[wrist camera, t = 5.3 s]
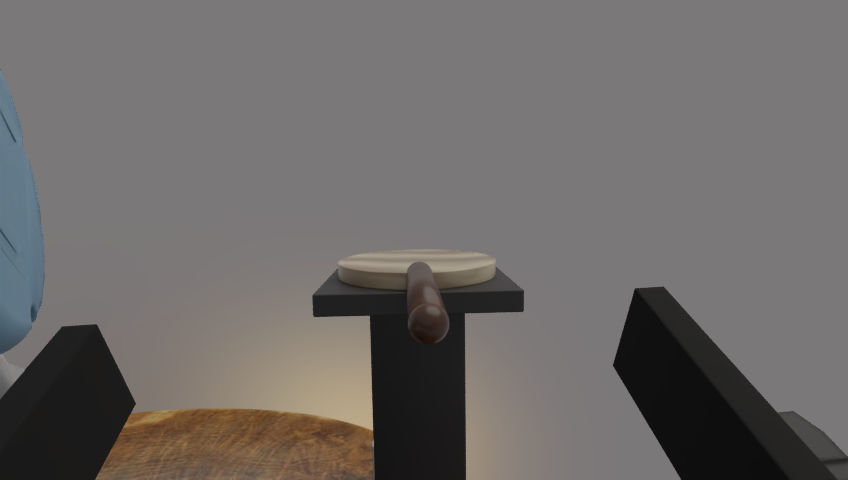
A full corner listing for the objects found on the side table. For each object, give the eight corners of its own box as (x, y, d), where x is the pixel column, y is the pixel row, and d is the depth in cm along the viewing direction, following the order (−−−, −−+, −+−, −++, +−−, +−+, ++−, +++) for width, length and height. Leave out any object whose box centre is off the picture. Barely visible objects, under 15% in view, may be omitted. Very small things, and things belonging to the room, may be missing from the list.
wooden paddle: (348, 263, 43) (347, 244, 43) (481, 260, 44) (481, 241, 44) (277, 355, 19) (275, 312, 19) (578, 345, 19) (579, 304, 19)
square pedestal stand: (521, 716, 34) (524, 290, 30) (330, 726, 33) (311, 294, 30) (488, 563, 48) (488, 259, 44) (353, 569, 47) (342, 262, 44)
